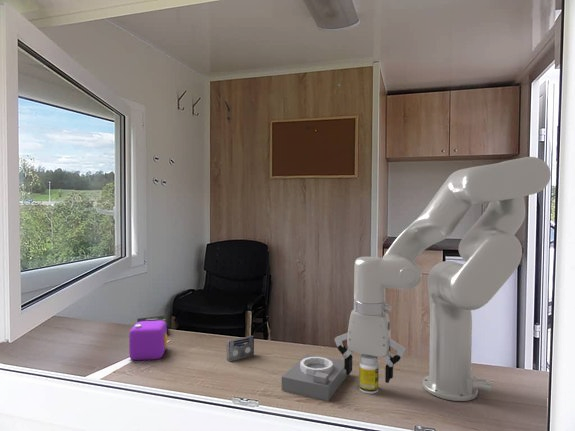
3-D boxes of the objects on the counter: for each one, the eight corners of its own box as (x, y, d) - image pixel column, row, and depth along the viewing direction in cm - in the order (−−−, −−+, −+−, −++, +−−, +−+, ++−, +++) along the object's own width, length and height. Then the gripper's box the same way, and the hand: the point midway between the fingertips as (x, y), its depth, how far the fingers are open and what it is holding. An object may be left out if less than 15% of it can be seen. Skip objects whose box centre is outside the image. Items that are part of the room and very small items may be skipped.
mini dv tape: (251, 354, 118) (251, 335, 118) (253, 356, 117) (254, 336, 117) (226, 360, 113) (226, 340, 113) (228, 362, 112) (228, 341, 112)
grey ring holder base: (348, 374, 104) (348, 356, 104) (328, 401, 90) (328, 380, 90) (306, 366, 109) (306, 348, 109) (281, 390, 95) (281, 370, 95)
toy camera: (167, 343, 127) (167, 313, 126) (168, 359, 114) (168, 325, 113) (131, 347, 123) (131, 316, 123) (128, 364, 110) (128, 329, 110)
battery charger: (137, 329, 143) (137, 318, 142) (164, 326, 146) (164, 315, 146) (138, 340, 131) (138, 328, 131) (168, 336, 134) (168, 325, 134)
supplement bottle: (378, 395, 93) (379, 360, 93) (358, 393, 94) (358, 358, 94) (378, 386, 98) (378, 353, 97) (359, 384, 98) (359, 351, 98)
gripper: (408, 308, 95) (406, 377, 95) (340, 300, 102) (339, 364, 103) (403, 316, 88) (401, 390, 88) (330, 306, 95) (329, 375, 96)
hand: (368, 376), depth 96 cm, fingers open, 9 cm apart
